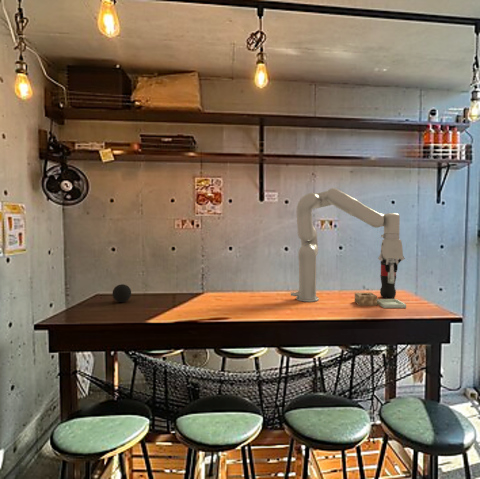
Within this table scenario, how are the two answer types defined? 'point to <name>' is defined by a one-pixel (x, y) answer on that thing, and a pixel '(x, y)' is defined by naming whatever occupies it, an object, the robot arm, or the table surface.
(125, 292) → the speaker
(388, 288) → the cola bottle
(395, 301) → the tray
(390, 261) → the pin
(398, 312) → the table surface
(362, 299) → the square wooden holder
